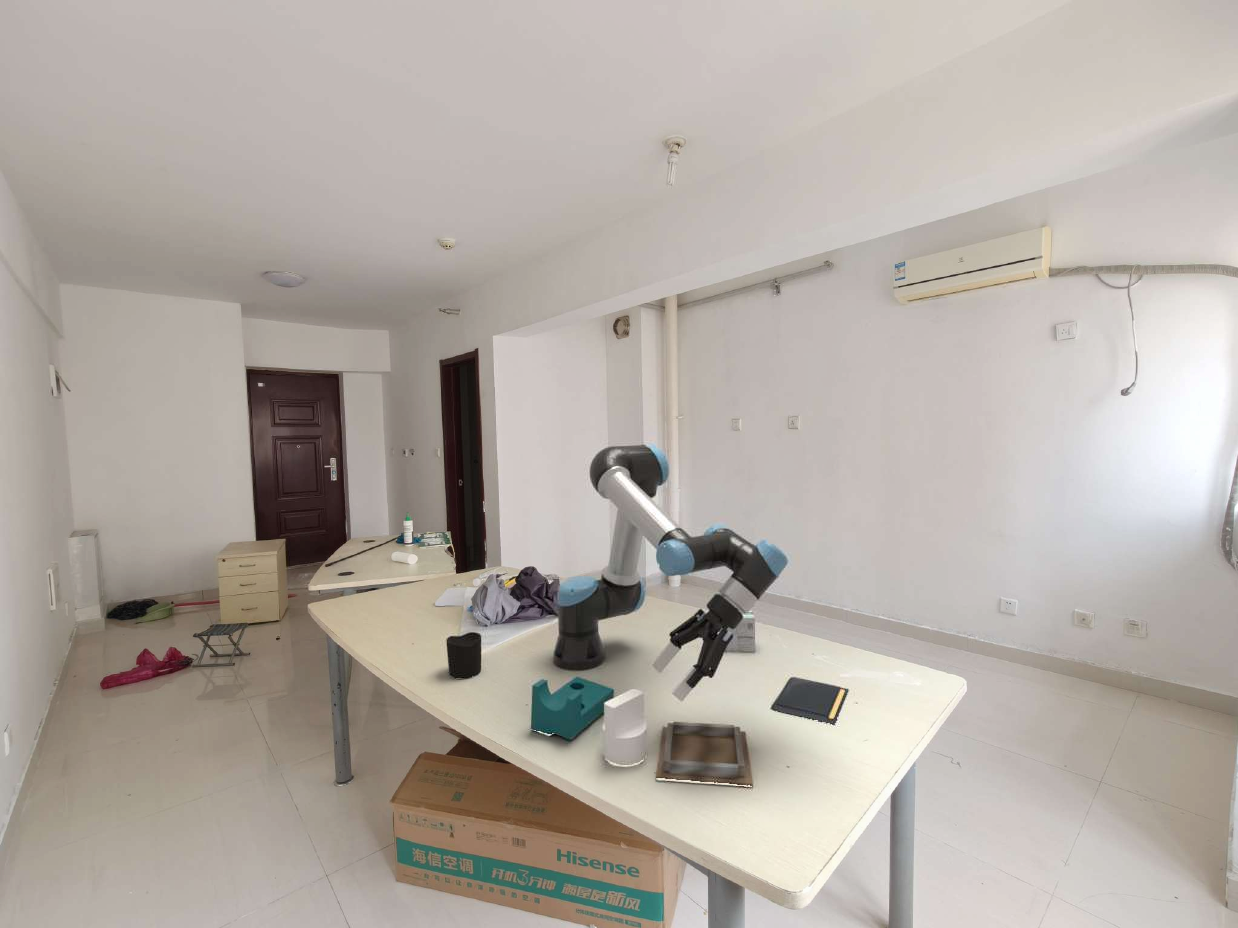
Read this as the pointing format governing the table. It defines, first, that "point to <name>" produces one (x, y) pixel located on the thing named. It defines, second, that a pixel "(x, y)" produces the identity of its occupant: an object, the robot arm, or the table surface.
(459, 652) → the pen holder
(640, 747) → the cylinder with rectangular tab
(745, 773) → the plate
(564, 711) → the teal l-shaped bracket
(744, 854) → the table surface
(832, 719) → the wallet
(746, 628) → the light bulb box
